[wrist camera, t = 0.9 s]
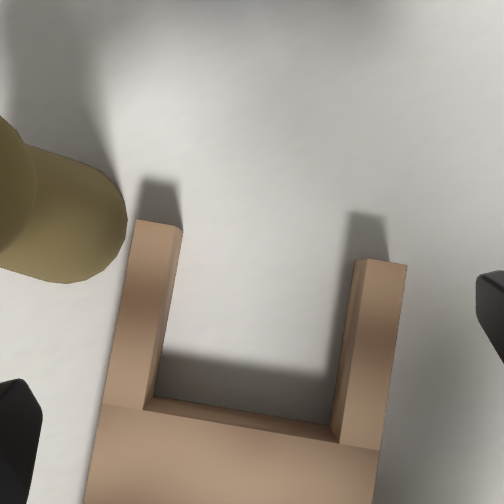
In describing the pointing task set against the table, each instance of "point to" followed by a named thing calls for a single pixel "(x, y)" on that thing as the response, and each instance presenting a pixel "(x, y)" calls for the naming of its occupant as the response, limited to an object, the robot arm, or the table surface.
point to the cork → (55, 214)
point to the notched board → (234, 421)
